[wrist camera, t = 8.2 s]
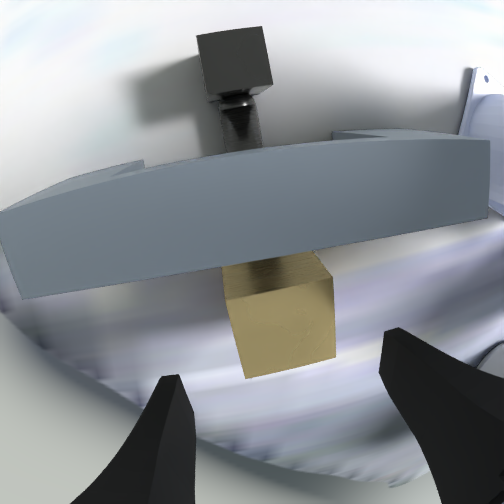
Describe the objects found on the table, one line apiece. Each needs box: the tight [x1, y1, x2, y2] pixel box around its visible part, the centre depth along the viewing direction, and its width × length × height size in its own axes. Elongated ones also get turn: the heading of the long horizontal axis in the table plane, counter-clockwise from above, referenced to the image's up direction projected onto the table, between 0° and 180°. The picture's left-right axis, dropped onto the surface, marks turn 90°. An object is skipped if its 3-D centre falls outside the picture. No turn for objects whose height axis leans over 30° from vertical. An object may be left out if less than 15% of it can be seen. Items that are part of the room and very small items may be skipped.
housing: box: [0, 129, 490, 300], centre depth 12 cm, size 3×17×7 cm, turn 98°
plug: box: [196, 26, 336, 379], centre depth 13 cm, size 14×4×5 cm, turn 10°
